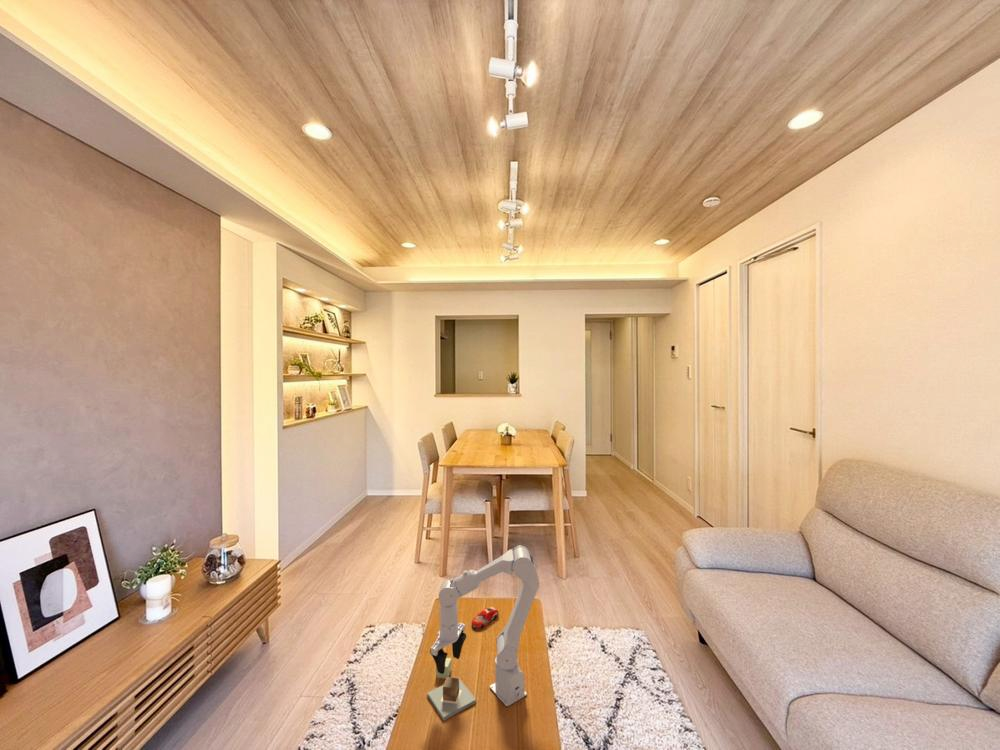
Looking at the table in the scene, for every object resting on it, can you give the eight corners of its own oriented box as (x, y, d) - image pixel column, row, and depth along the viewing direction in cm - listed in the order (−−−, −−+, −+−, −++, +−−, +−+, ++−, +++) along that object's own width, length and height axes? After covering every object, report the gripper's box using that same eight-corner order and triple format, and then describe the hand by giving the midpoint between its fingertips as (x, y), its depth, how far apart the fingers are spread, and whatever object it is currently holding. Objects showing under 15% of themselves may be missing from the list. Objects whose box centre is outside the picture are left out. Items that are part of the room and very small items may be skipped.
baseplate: (476, 702, 120) (475, 699, 120) (443, 720, 114) (443, 716, 114) (458, 680, 129) (458, 676, 129) (427, 696, 123) (427, 692, 123)
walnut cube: (459, 691, 123) (459, 678, 123) (455, 701, 119) (455, 688, 119) (446, 689, 124) (446, 676, 124) (442, 699, 120) (442, 686, 120)
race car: (478, 632, 154) (478, 622, 154) (468, 627, 158) (468, 616, 158) (500, 617, 164) (500, 607, 164) (491, 612, 167) (491, 602, 167)
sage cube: (451, 670, 134) (451, 658, 134) (447, 679, 130) (447, 666, 130) (440, 668, 134) (440, 657, 134) (436, 677, 130) (436, 665, 131)
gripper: (453, 606, 133) (453, 647, 133) (423, 629, 121) (423, 674, 120) (470, 612, 129) (470, 654, 129) (440, 637, 117) (441, 683, 117)
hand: (448, 664), depth 124 cm, fingers open, 7 cm apart
